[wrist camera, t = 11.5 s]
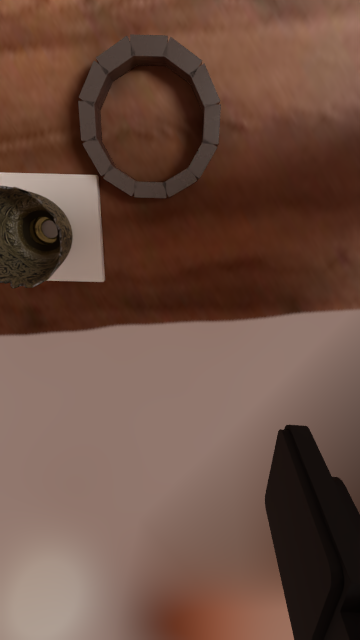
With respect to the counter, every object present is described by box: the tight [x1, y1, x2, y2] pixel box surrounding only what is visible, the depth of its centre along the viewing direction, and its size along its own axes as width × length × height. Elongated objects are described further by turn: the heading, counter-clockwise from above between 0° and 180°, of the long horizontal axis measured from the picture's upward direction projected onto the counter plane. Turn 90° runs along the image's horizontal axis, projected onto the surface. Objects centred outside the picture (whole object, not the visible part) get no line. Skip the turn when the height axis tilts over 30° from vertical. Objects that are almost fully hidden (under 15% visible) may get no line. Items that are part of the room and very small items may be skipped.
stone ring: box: [78, 35, 221, 198], centre depth 28 cm, size 12×12×2 cm
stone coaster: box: [0, 173, 105, 282], centre depth 31 cm, size 10×10×1 cm
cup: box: [0, 186, 73, 288], centre depth 27 cm, size 8×7×8 cm
